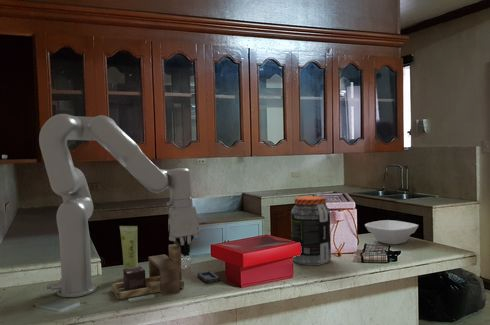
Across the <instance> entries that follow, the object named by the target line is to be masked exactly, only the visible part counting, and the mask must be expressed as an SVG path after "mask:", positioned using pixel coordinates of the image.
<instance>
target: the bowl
mask: <svg viewBox="0 0 490 325" xmlns="http://www.w3.org/2000/svg"><path fill="white" fill-rule="evenodd" d="M364 227H365V228H366V229H367V231H368V232H369V233H371V234H372V235H373V237H374V238H375V241H377V242H379V243H383V244H387V245H398V244H403V243H407V240H408V239H409V238H410V236H411V235H412V234H414V233H415V232H416V231H417V229H418V228H419V224H416V223H412V222H407V221H401V220H392V219H391V220H390V219H386V220H385V219H384V220H377V221H371V222H367V223H365V224H364Z"/></svg>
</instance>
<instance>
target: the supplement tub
mask: <svg viewBox="0 0 490 325" xmlns="http://www.w3.org/2000/svg"><path fill="white" fill-rule="evenodd" d="M290 224H291V226H290V228H291V242H292V241H295V242H300V243H301V246H302V253H301V255H300V256H296V257H294V258H293V259H292V260H293V261H294V262H295V263H297V264H299V265H307V266H320V265H323V264H326V263H328V262H330V261H331V260H332V251H331V250H332V246H331V245H332V243H331V242H332V241H331V236H332V235H331V211H330V208H329V206H327V201H326V197H325V196H318V195H317V196H316V195H308V196H307V195H306V196H305V195H304V196H296V197H295V198H294V206H293V207H292V209H291V212H290Z"/></svg>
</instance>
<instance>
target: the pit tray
mask: <svg viewBox="0 0 490 325" xmlns="http://www.w3.org/2000/svg"><path fill="white" fill-rule="evenodd" d="M197 278H199V279H200V280H202V281H203V282H204V283H206V284H209V283H215V282H221V281H220V280H221V278H220V276H218V275H217V274H215V273H214V272H212V271H211V270H208V271H202V272H198V273H197Z"/></svg>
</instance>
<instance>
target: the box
mask: <svg viewBox="0 0 490 325" xmlns="http://www.w3.org/2000/svg"><path fill="white" fill-rule="evenodd" d="M122 270H123V282H124V288H123V291H129V290H135V289H140V288H146V280H145V278H146V270H145V269H144V268H143V267H142V266H140V265H138V267H133V268H127V269H124V268H123V269H122Z"/></svg>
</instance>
